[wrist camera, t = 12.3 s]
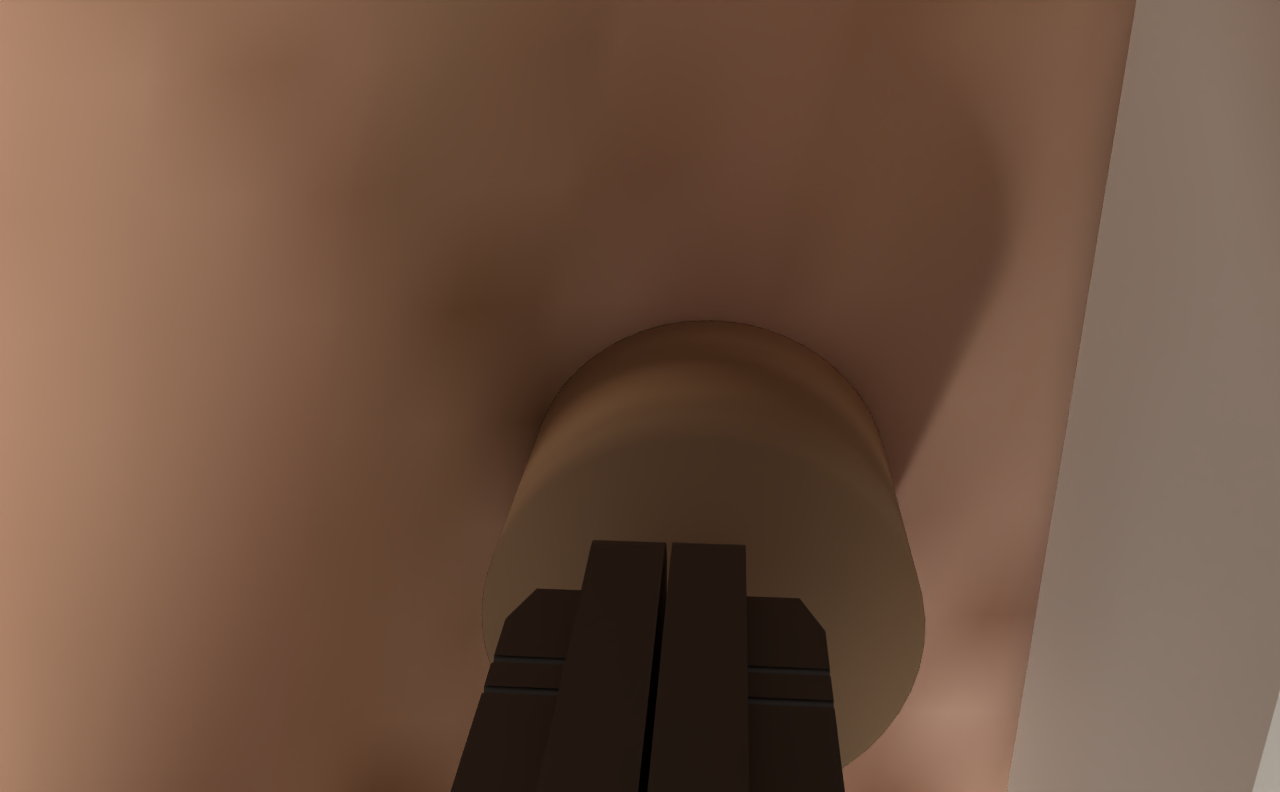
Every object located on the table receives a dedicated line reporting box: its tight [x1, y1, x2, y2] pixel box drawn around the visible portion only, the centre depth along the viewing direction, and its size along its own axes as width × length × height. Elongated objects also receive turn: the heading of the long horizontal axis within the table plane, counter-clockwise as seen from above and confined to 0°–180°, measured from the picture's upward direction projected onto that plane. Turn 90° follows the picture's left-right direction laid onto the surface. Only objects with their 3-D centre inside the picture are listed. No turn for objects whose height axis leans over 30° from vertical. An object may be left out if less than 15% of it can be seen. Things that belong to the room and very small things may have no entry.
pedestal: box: [482, 321, 925, 768], centre depth 15 cm, size 5×5×4 cm
